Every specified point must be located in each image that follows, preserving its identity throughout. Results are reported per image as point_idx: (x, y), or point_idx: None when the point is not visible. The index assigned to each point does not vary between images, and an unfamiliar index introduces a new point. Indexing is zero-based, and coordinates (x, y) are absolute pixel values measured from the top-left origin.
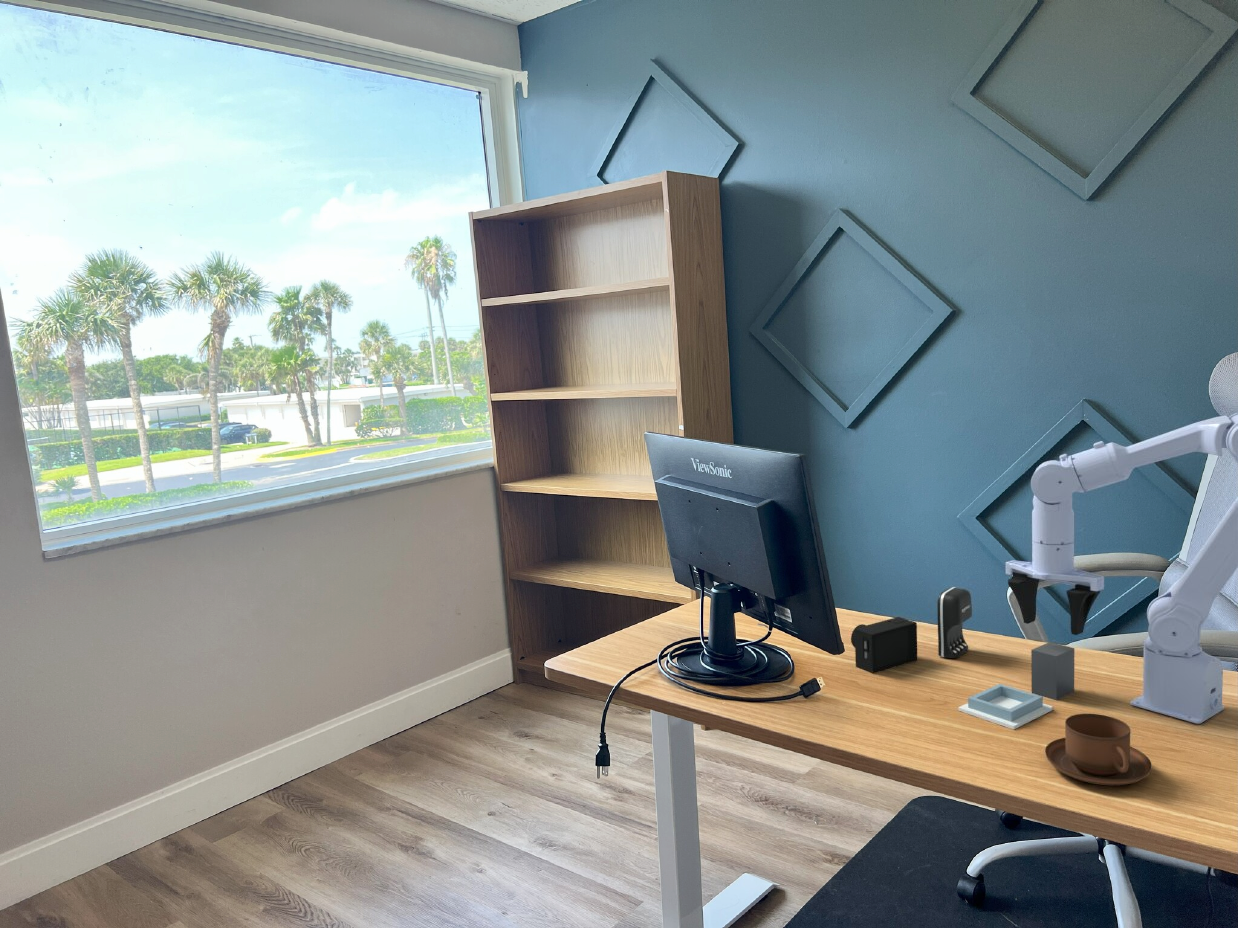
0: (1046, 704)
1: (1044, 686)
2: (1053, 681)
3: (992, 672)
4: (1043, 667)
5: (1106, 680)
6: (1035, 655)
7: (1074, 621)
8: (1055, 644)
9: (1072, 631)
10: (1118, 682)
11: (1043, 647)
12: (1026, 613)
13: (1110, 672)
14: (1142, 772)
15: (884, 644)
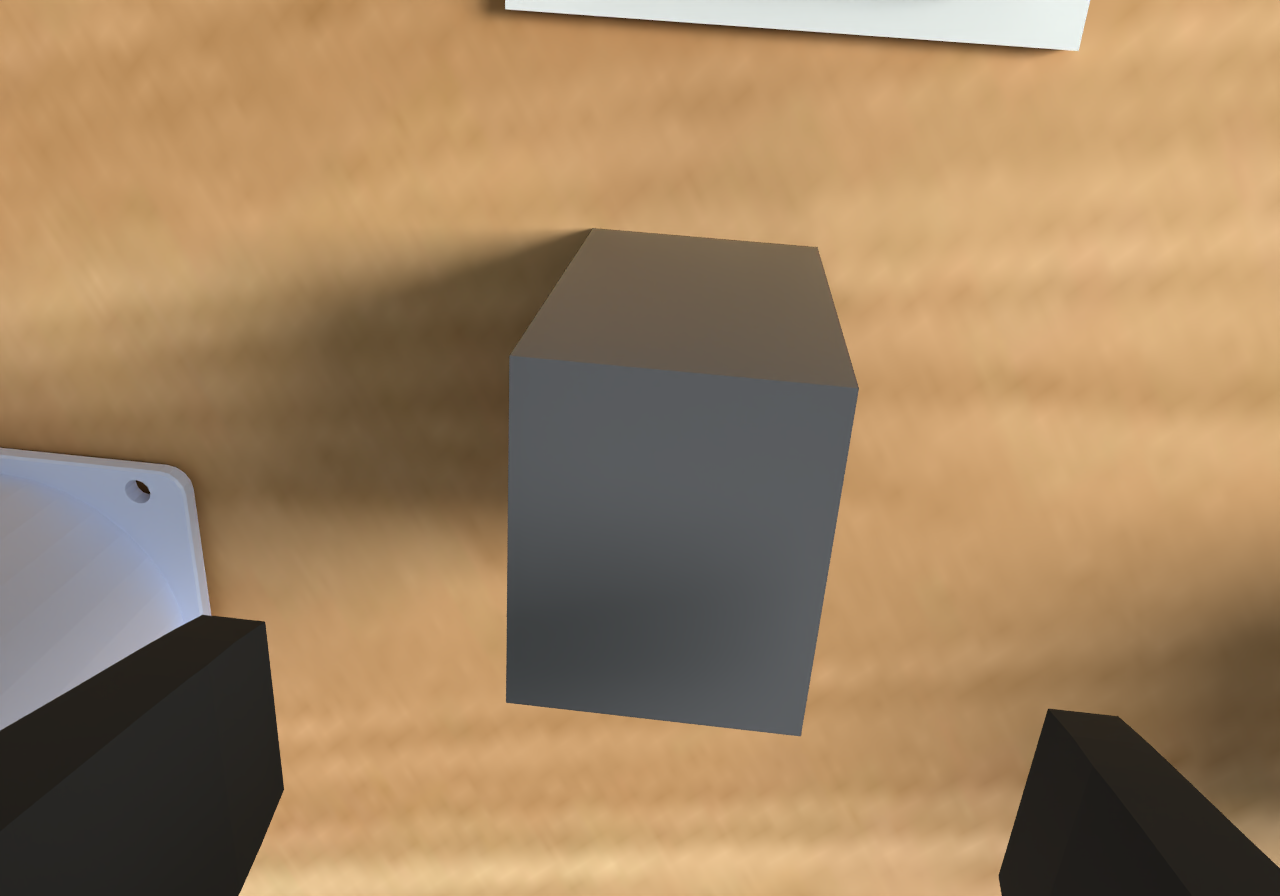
0: (566, 11)
1: (694, 261)
2: (595, 269)
3: (1272, 462)
4: (696, 314)
5: (525, 764)
6: (795, 359)
7: (23, 736)
8: (712, 699)
9: (215, 635)
10: (457, 771)
11: (775, 546)
12: (1130, 834)
13: (573, 883)
14: None
15: None
